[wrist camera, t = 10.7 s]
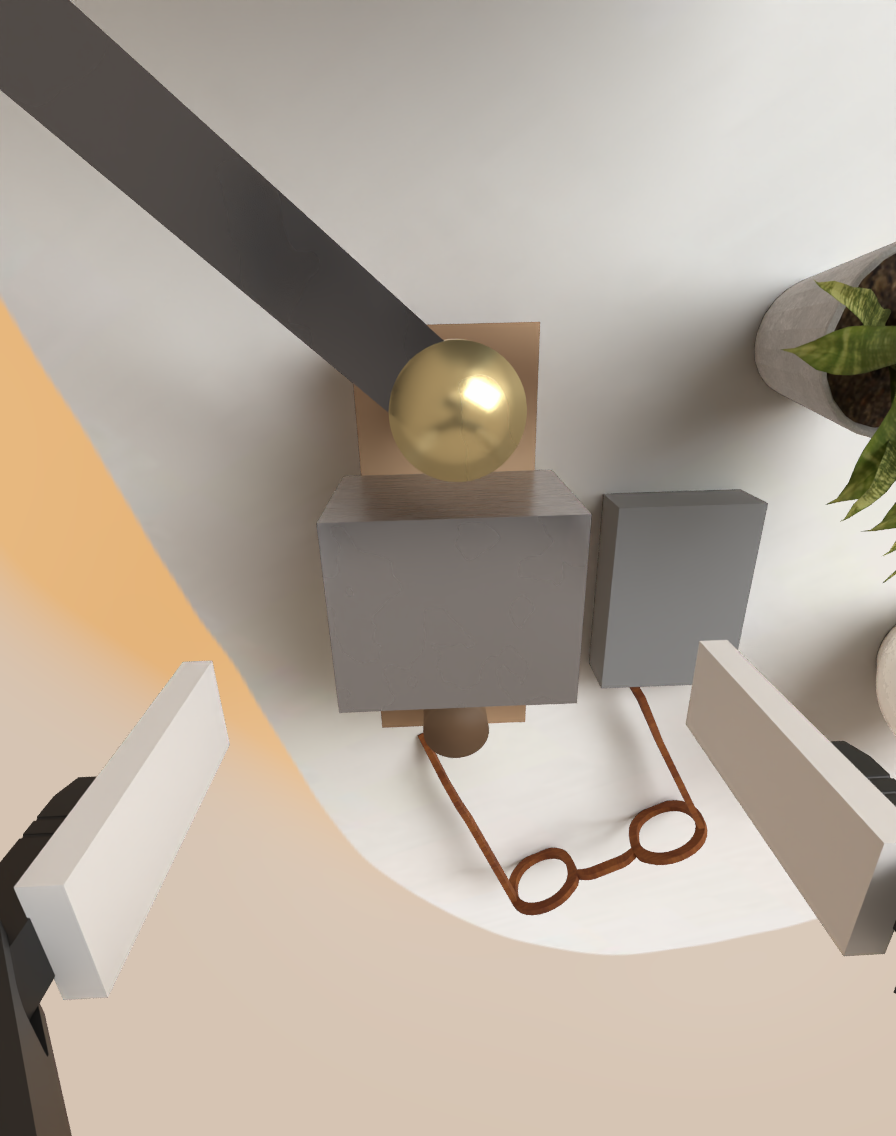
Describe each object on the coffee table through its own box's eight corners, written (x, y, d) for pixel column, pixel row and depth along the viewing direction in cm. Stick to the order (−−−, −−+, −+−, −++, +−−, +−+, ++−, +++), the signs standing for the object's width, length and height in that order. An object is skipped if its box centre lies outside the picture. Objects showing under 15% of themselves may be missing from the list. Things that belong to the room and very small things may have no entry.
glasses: (507, 863, 39) (518, 934, 34) (416, 730, 34) (415, 792, 30) (687, 791, 37) (724, 856, 32) (616, 639, 32) (647, 690, 28)
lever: (541, 397, 15) (555, 405, 13) (461, 490, 15) (464, 507, 14) (9, -97, 11) (-62, -171, 9) (-57, 64, 12) (-133, 23, 10)
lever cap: (343, 476, 23) (316, 523, 17) (551, 469, 23) (591, 514, 17) (358, 629, 25) (339, 712, 20) (544, 622, 25) (576, 703, 20)
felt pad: (603, 493, 28) (619, 508, 26) (740, 489, 29) (767, 503, 26) (589, 662, 32) (601, 688, 30) (709, 658, 32) (730, 683, 30)
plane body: (362, 327, 25) (312, 324, 14) (519, 323, 25) (591, 317, 14) (388, 670, 32) (368, 849, 21) (510, 665, 32) (555, 840, 21)
